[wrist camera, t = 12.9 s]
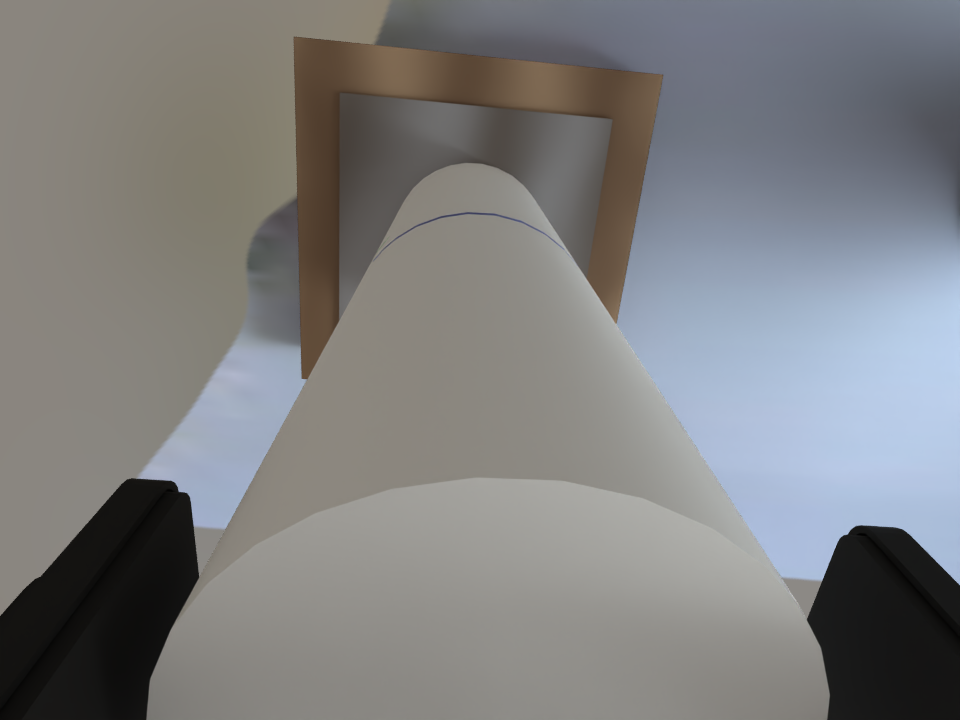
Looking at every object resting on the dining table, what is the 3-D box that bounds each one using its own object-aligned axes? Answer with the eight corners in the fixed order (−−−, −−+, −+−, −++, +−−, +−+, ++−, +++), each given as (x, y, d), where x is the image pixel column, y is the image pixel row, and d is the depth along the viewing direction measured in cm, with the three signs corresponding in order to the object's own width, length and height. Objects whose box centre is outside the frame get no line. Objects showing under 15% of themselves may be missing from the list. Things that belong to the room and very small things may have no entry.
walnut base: (638, 76, 31) (666, 74, 27) (587, 368, 37) (603, 402, 33) (313, 43, 30) (291, 35, 26) (317, 349, 36) (299, 382, 32)
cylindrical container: (573, 257, 30) (930, 796, 7) (454, 339, 32) (429, 1000, 9) (487, 129, 28) (603, 317, 5) (363, 224, 29) (-8, 717, 6)
